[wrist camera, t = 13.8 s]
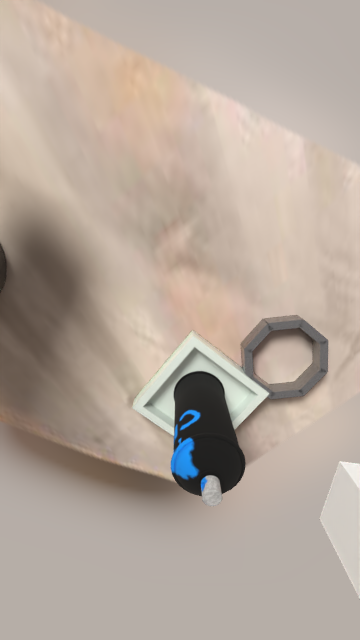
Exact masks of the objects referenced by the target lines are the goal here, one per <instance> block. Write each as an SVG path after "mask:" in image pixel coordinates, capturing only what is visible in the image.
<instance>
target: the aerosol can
mask: <svg viewBox="0 0 360 640" xmlns="http://www.w3.org/2000/svg"><path fill="white" fill-rule="evenodd" d="M174 401H175V418H174V454H173V456H172V460H171V471H172V475H173V477H174V479H175V481H176V482H177V483H178V484H179V486H181V487H182V488H183V489H184V490H186V491H188V492H190V493H192V494H195V495H199V496H202V500H203V502H204V503H205V504H206V505H209V506H216V505H218V504H219V503H220V502H221V501H222V494H223V493H225V492H227V491H229V490H231V489H232V488H233V487H234V486H236V485H237V483H238V482H239V481H240V480H241V478H242V476H243V474H244V470H245V457H244V454H243V452H242V450H241V449H240V447H239V445H238V441H237V438H236V434H235V431H234V427H233V424H232V420H231V417H230V413H229V410H228V406H227V403H226V399H225V391H224V387H223V384H222V383H221V381H220V380H219V379H218V378H217V377H216V376H215V375H213V374H211V373H208V372H205V371H194V372H191V373H188V374H186V375H184V376H183V377H182V378H181V379H180V380H179V381H178V382H177V384H176V386H175V388H174Z"/></svg>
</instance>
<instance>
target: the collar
mask: <svg viewBox="0 0 360 640" xmlns="http://www.w3.org/2000/svg"><path fill="white" fill-rule="evenodd" d="M292 328H300V329H302V330H303V331H304V332H305V333H306V334H308V335H309V336H310V337H311V338H312V339H313V363H312V364H311V365H310V366H309V367H308V368H307V369H306V370H305V371H304V372H303V373H302V375H301V376H300V377H299V378H298V379H297V380H296V381H295V382H288V383H278V384H267V383H266V382H265V381H264V380H262V379H261V378H260V377H258V376H257V375H256V374H255V373H253V357H252V351H253V350H254V349H255V348H256V347H257V346H258V345H259V344H260V343H261V341H262V340H263V339H264V338H265V337H266V336H267V335H268V334H269V333H270V332H271V331H273V330H283V329H292ZM241 358H242V369H243V371H244V373H245V375H246V376H248V377H249V378H250V379H252V380H253V381H254V382H256V383H257V384H258V385H260V386H261V387H262V388H263V389H265V390H266V391H267V392H269V395H268V396H267V397H268V398H269V399H279V398H288V397H298V396H303V395H305V394H306V393H307V392H308V391H309V390H310V389H311V388H312V387H313V386H314V385H315V384H316V383H317V382H318V381H319V380H320V379H321V378H322V377H323V376H324V375H325V374H326V373H327V372H328V340H327V339H326V338H325V337H324V336H323V335H321V334H320V333H319V332H318V331H317V330H315V329H314V328H313V327H312V326H311V325H310V324H308V323H307V322H306V321H305V320H304V319H302V318H300V317H299V316H297V315H292V316H283V317H274V318H265V319H262V320H261V321H260V323H259V324H258V325H257V326H256V327H255V328H254V329H253V330H252V331H251V333H250V334H249V335H248V336H247V337H246V338H245V339H244V340H243V341H242V343H241Z"/></svg>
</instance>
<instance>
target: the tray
mask: <svg viewBox="0 0 360 640" xmlns="http://www.w3.org/2000/svg"><path fill="white" fill-rule="evenodd" d="M194 371H205V372H208V373H211V374H213V375H215V376H216V377H217V378H218V379H219V380H220V381H221V383H222V384H223V387H224V391H225V399H226V403H227V406H228V410H229V413H230V417H231V420H232V424H233V427H234V430H235V429H236V428H237V427H238V426H239V425H240V424H241V423H242V422H243V421H244V420H245V419H246V417H247V416H248V415H249V414H250V413H251V412H252V411H253V410H254V409H255V408H256V407H257V406H258V405H259V404H260V403H261V402H262V401H263V400H264V399H265V398H266V397H267V396H268V395H269V392H267V391H266V390H265V389H263V388H262V387H261V386H260V385H258V384H257V383H256V382H254V381H253V380H252V379H250V378H249V377H248V376H246V375H245V373H244V371H243V369H242V367H240V366H239V365H238V364H236V363H235V362H234V361H233V360H231V359H230V358H229V357H227V356H226V355H225V354H223V353H222V352H221V351H220V350H218V349H217V348H216V347H214V346H213V345H212V344H210V343H209V342H208V341H207V340H205V339H204V338H203V337H201V336H200V335H199V334H197V333H196V332H195V331H193V330H192V331H191V332H190V333H189V335H188V336H187V337H186V338H185V339H184V340H183V342H182V343H181V344H180V345H179V346H178V348H177V349H176V350H175V351H174V352H173V353H172V355H171V356H170V357H169V358H168V359H167V361H166V362H165V363H164V364H163V365H162V366H161V368H160V369H159V370H158V371H157V372H156V374H155V375H154V376H153V377H152V378H151V379H150V381H149V382H148V383H147V384H146V385H145V387H144V388H143V389H142V390H141V391H140V392H139V394H138V395H137V396H136V397H135V399H134V403H133V407H132V408H133V409H134V410H136V411H137V412H139V413H140V414H142V415H143V416H145V417H146V418H148V419H149V420H151V421H152V422H153V423H155V424H156V425H158V426H159V427H161V428H162V429H164V430H165V431H167V432H168V433H170V434H171V435H173V436H174V418H175V401H174V388H175V386H176V384H177V382H178V381H179V380H180V379H181V378H182V377H183V376H184V375H186V374H188V373H191V372H194Z"/></svg>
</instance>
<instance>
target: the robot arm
mask: <svg viewBox="0 0 360 640" xmlns="http://www.w3.org/2000/svg"><path fill="white" fill-rule="evenodd" d="M5 278H6V262H5V257H4V253H3V250H2V248H1V246H0V292H1V290H2V288H3V285H4V282H5ZM320 521H321V523H322V525H323V527H324V529H325V530H326V533H327V535H328V537H329V539H330V541H331V543H332V545H333V547H334V549H335V551H336V553H337V554H338V557H339V559H340V561H341V562H342V565H343V567H344V568H345V571H346V573H347V574H348V576H349V578H350V581H351V583H352V585H353V587H354V589H355V591H356V593H357V594H358V596H359V598H360V464H356V463H349V462H339V464H338V467H337V470H336V473H335V476H334V479H333V481H332V485H331V487H330V490H329V493H328V496H327V499H326V502H325V504H324V507H323V510H322V513H321V516H320Z"/></svg>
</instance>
